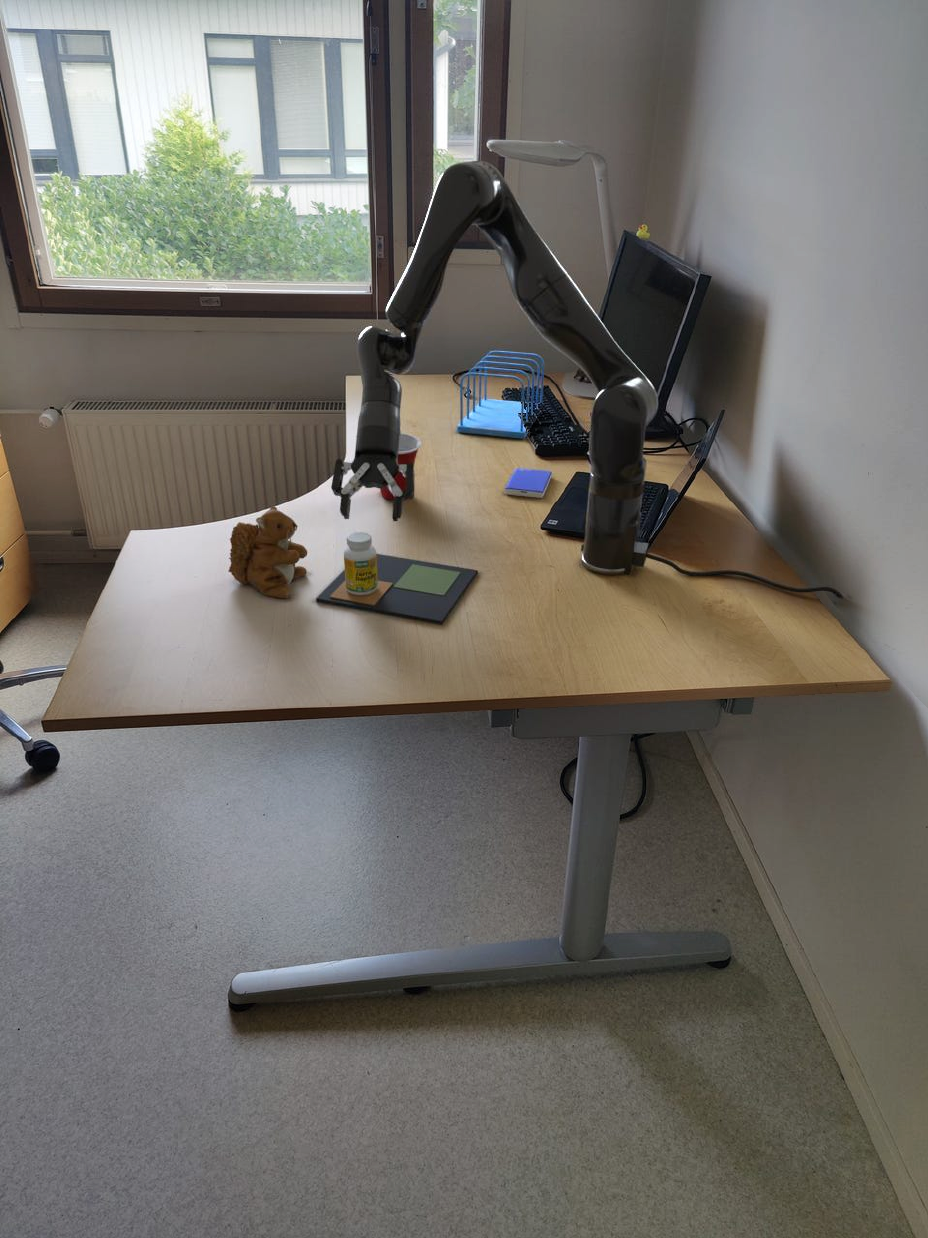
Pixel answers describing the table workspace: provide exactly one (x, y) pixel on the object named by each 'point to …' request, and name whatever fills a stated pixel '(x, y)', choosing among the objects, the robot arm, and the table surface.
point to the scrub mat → (406, 589)
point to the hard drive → (528, 482)
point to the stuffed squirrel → (267, 554)
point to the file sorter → (499, 401)
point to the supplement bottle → (360, 564)
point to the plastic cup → (403, 460)
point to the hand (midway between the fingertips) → (370, 518)
